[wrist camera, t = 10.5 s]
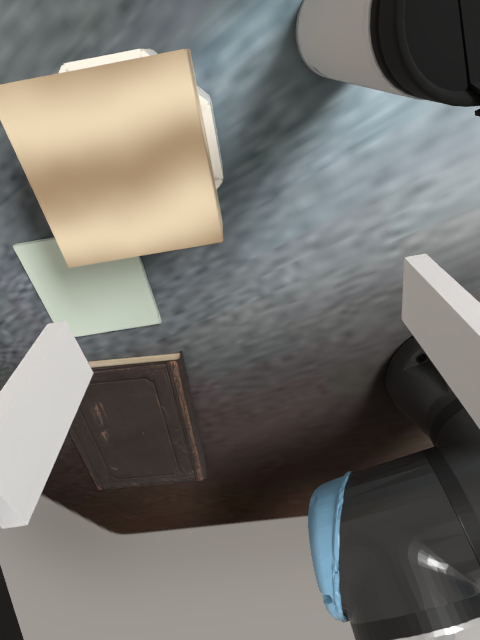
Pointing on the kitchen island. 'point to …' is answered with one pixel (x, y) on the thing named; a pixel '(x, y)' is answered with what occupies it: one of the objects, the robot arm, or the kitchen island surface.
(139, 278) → the mat
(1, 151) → the kitchen island surface
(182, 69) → the tan box
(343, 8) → the travel mug
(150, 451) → the hardcover book
